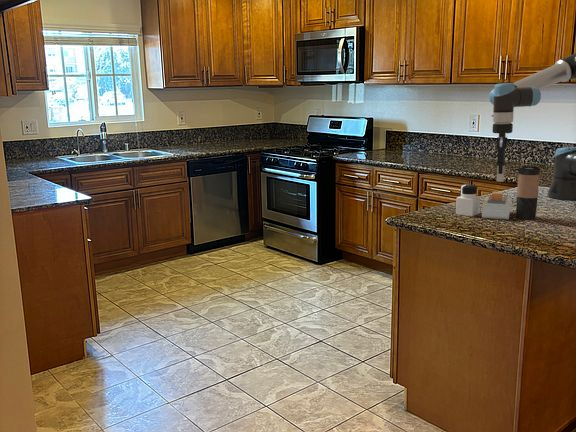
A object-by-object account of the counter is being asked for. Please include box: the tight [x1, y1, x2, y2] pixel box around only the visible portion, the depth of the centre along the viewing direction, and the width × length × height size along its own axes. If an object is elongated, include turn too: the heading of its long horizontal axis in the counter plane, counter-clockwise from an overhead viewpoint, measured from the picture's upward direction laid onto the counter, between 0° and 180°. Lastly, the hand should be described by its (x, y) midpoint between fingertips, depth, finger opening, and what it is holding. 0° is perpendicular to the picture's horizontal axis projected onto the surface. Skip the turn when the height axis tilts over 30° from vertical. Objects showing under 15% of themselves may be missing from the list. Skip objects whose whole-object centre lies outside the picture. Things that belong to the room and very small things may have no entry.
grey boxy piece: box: [481, 194, 512, 220], centre depth 229 cm, size 10×14×7 cm
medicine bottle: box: [455, 184, 481, 217], centre depth 231 cm, size 7×7×12 cm
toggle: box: [491, 191, 504, 200], centre depth 225 cm, size 4×3×4 cm
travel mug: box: [515, 165, 540, 221], centre depth 221 cm, size 8×8×20 cm
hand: (500, 181), depth 231 cm, fingers closed
